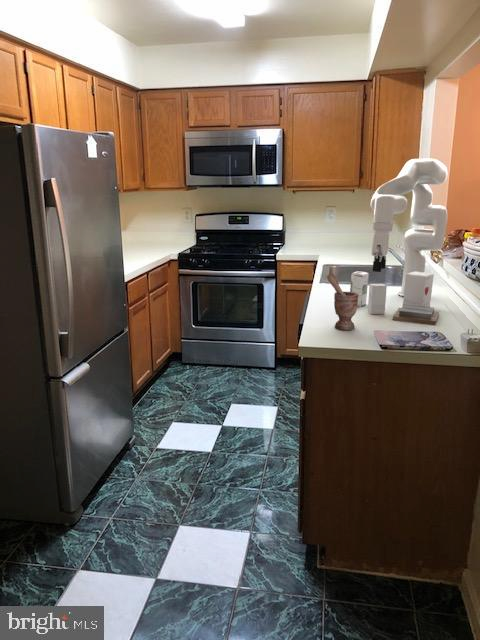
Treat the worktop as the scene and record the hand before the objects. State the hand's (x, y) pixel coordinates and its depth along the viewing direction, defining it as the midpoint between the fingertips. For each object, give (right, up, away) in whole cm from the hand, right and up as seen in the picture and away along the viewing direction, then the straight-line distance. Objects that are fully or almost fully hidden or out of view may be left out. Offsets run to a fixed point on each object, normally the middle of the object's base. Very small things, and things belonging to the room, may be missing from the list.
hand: (378, 269), depth 208 cm
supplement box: (+20, -15, +15) cm, 30 cm away
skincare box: (0, -18, +5) cm, 18 cm away
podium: (+15, -19, -1) cm, 24 cm away
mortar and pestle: (-19, -23, -16) cm, 34 cm away
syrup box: (-4, -14, +19) cm, 24 cm away
